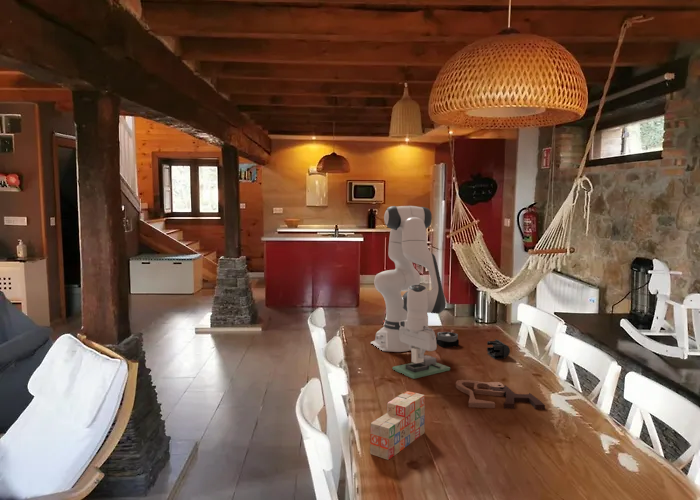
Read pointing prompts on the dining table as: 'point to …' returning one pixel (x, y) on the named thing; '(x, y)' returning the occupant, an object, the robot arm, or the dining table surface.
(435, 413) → the dining table surface
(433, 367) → the circuit board
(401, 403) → the stack of blocks
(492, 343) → the end cap
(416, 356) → the plug
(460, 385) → the wood carving
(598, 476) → the dining table surface
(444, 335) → the cpu cooler
